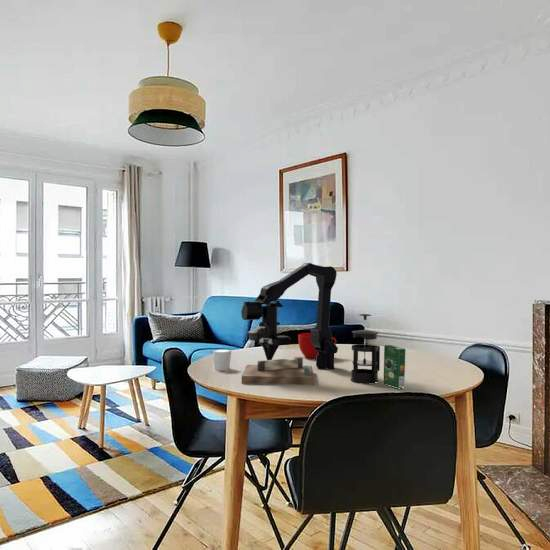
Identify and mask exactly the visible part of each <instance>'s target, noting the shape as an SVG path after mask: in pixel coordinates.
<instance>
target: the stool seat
mask: <svg viewBox="0 0 550 550" xmlns="http://www.w3.org/2000/svg"><path fill="white" fill-rule="evenodd" d="M241 384H246V385H247V384H249V385H252V384H253V385H258V384H259V385H290V386H292V385H295V386H297V385H298V386H300V385H301V386H315V374H314V370H313V367H312V365H308V364H307V365H304V364H303V367H300V368H287V369H276V370H266V371H258V364H247V365H246V366H245V368H244V371H243V373H242V375H241Z"/></svg>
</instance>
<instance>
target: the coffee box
mask: <svg viewBox="0 0 550 550" xmlns="http://www.w3.org/2000/svg"><path fill="white" fill-rule="evenodd" d="M383 346H384V347H383V351H384V352H383V383H384V384H383V385H385V384H388V385H391V386H394V387H397V388H402V387H404V388H405V379H406V378H405V375H406V374H405V372H406V348H403V347H399V346H395V345H392V344H385V345H383ZM388 385H387V386H388ZM391 386H390V387H391ZM394 387H393V388H394Z"/></svg>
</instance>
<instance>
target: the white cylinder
mask: <svg viewBox="0 0 550 550" xmlns="http://www.w3.org/2000/svg"><path fill="white" fill-rule="evenodd" d="M212 352H213V353H212V354H213V367H214V370H215V371H228V369H229V370H230V367H231V366H230V365H231V356H232V350H229V349H215V350H213V351H212Z"/></svg>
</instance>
